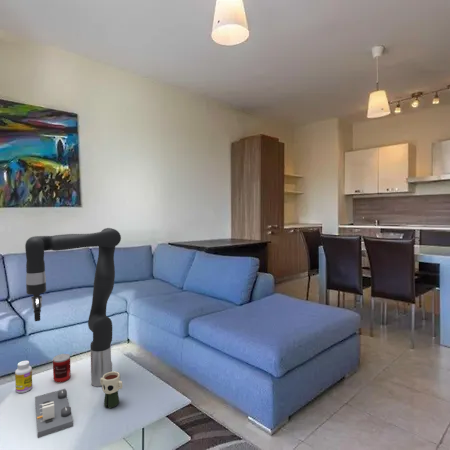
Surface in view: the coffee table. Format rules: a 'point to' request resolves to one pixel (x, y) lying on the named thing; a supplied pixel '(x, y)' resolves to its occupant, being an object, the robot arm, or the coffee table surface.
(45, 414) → the fader cap
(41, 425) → the console board
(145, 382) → the coffee table surface
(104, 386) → the character mug
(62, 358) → the canned food
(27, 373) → the supplement bottle
